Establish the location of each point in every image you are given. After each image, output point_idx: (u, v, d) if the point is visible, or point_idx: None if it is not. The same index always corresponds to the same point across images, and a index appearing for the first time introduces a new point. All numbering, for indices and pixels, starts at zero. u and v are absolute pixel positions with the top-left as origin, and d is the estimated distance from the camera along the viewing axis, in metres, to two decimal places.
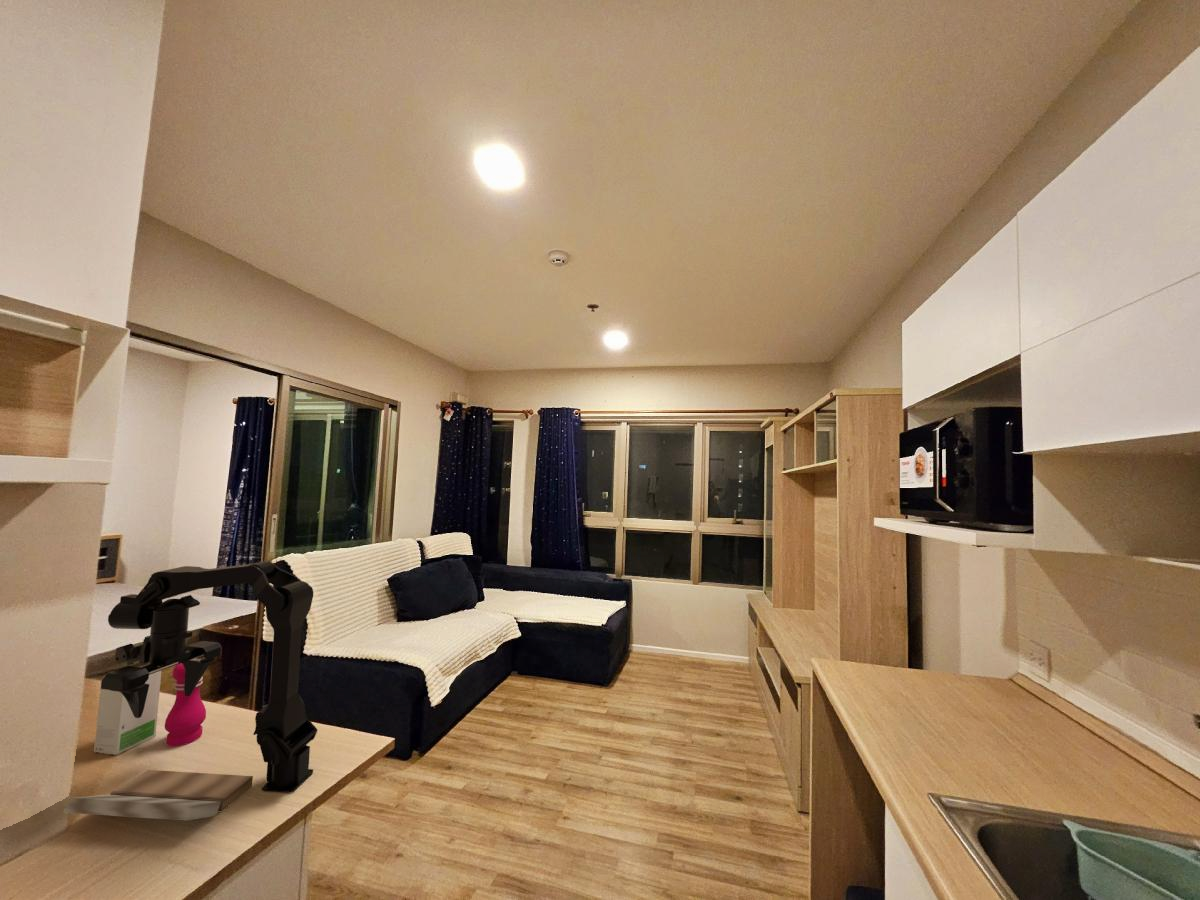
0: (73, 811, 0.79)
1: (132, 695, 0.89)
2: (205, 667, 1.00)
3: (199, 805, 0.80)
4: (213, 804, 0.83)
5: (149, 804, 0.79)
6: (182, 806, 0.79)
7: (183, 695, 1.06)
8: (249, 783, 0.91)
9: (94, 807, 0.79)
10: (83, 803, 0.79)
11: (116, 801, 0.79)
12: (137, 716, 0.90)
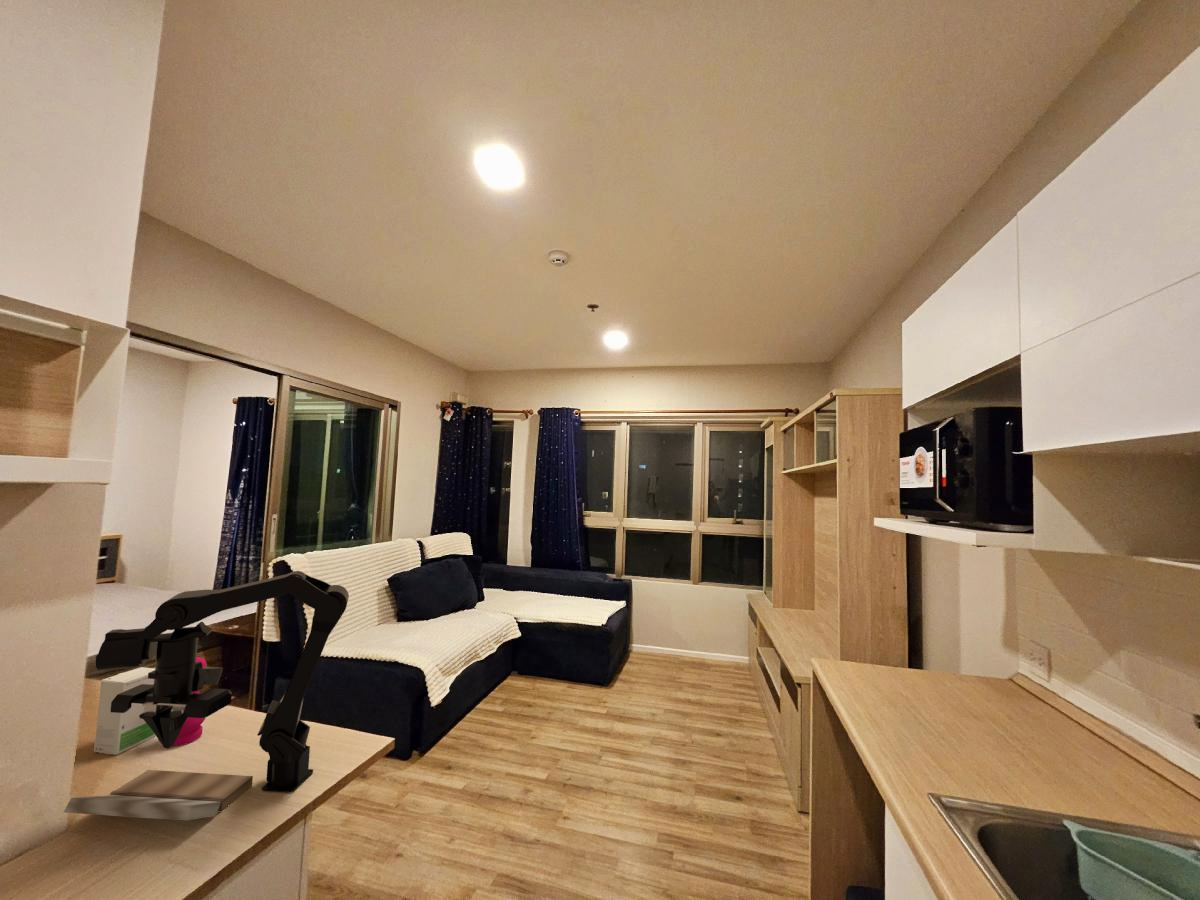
0: (73, 811, 0.79)
1: None
2: (165, 723, 0.83)
3: (199, 805, 0.80)
4: (213, 804, 0.83)
5: (149, 804, 0.79)
6: (182, 806, 0.79)
7: None
8: (249, 783, 0.91)
9: (94, 807, 0.79)
10: (83, 803, 0.79)
11: (116, 801, 0.79)
12: None
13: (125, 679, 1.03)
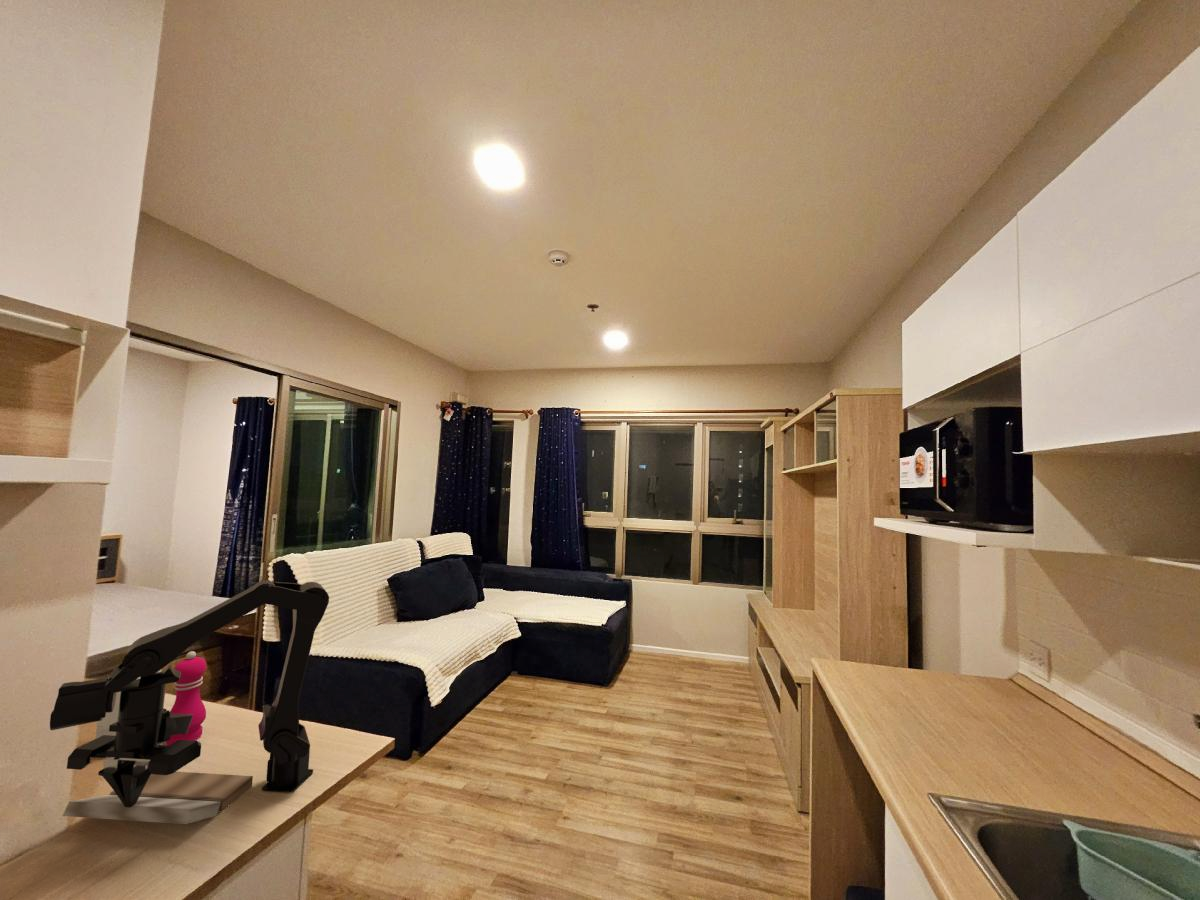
0: (72, 815, 0.78)
1: None
2: (126, 780, 0.77)
3: (198, 808, 0.80)
4: (213, 805, 0.83)
5: (147, 808, 0.79)
6: (181, 810, 0.78)
7: (183, 695, 1.06)
8: (249, 783, 0.91)
9: (93, 810, 0.79)
10: (81, 806, 0.79)
11: (114, 805, 0.79)
12: None
13: None
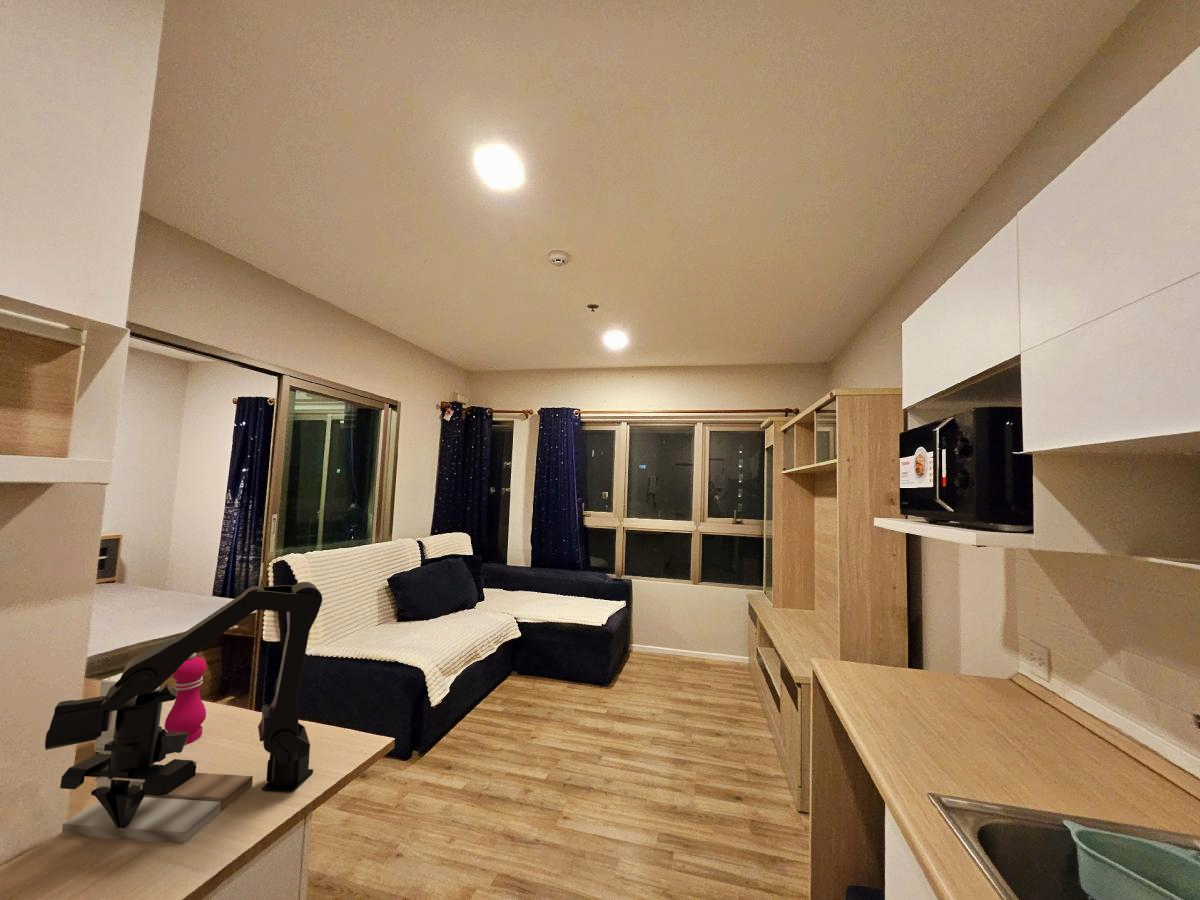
0: (71, 835, 0.78)
1: None
2: (121, 801, 0.76)
3: (194, 824, 0.79)
4: (212, 810, 0.83)
5: (142, 830, 0.78)
6: (176, 832, 0.78)
7: (183, 695, 1.06)
8: (249, 783, 0.91)
9: (89, 832, 0.78)
10: (77, 828, 0.78)
11: (109, 827, 0.78)
12: None
13: None
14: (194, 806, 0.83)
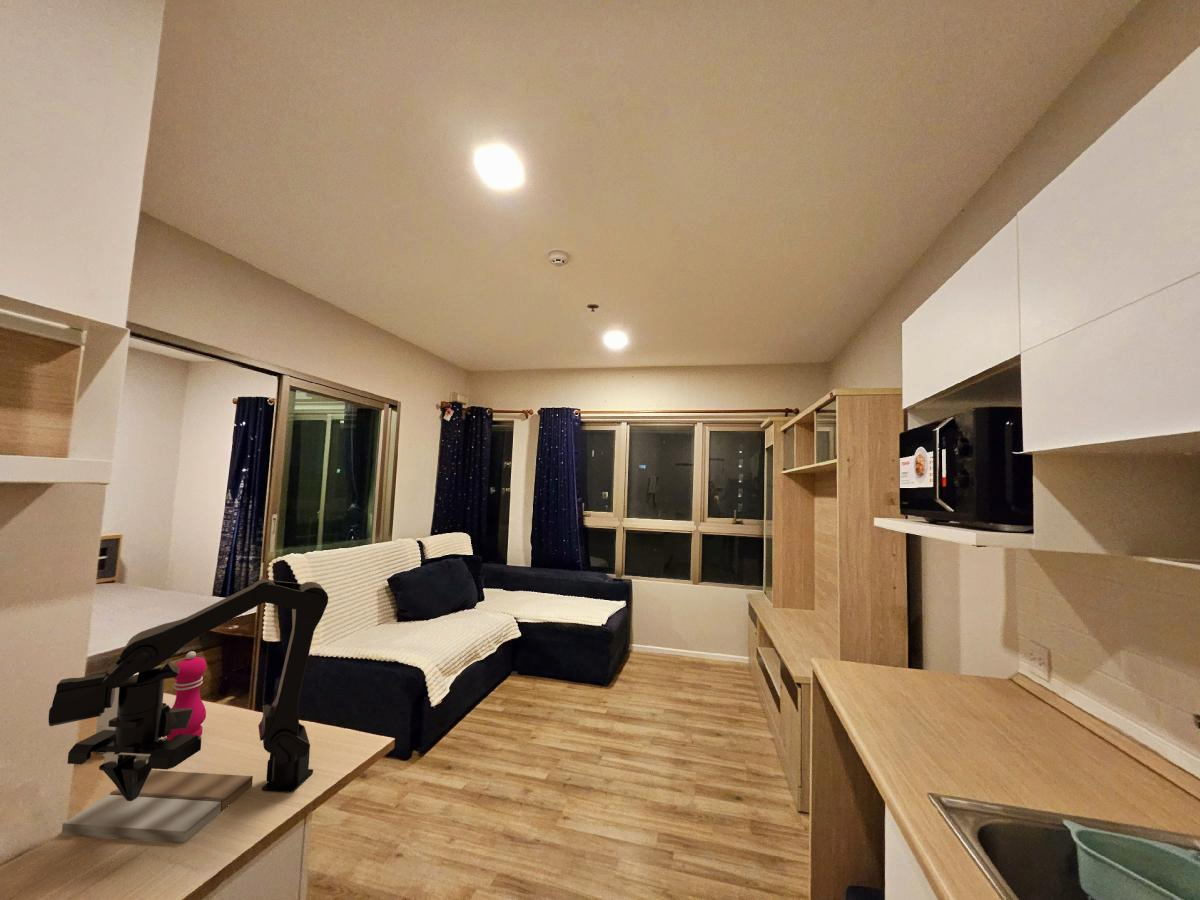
0: (71, 834, 0.78)
1: None
2: (127, 774, 0.77)
3: (194, 824, 0.79)
4: (212, 810, 0.83)
5: (142, 830, 0.78)
6: (176, 832, 0.78)
7: (183, 695, 1.06)
8: (249, 783, 0.91)
9: (89, 831, 0.78)
10: (77, 828, 0.78)
11: (109, 826, 0.78)
12: None
13: None
14: (194, 806, 0.83)
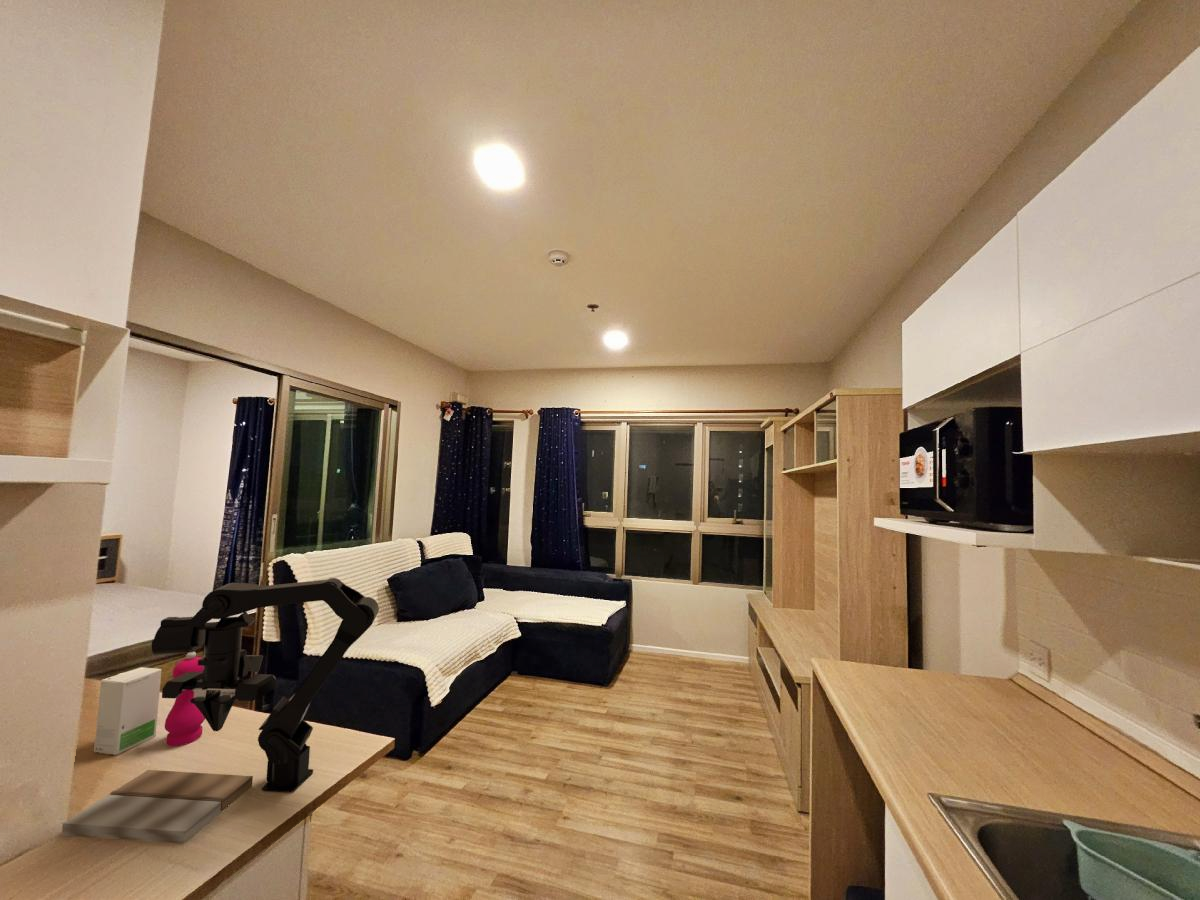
0: (71, 834, 0.78)
1: None
2: (215, 706, 0.88)
3: (194, 824, 0.79)
4: (212, 810, 0.83)
5: (142, 830, 0.78)
6: (176, 832, 0.78)
7: (183, 695, 1.06)
8: (249, 783, 0.91)
9: (89, 831, 0.78)
10: (77, 828, 0.78)
11: (109, 826, 0.78)
12: None
13: (125, 679, 1.03)
14: (194, 806, 0.83)
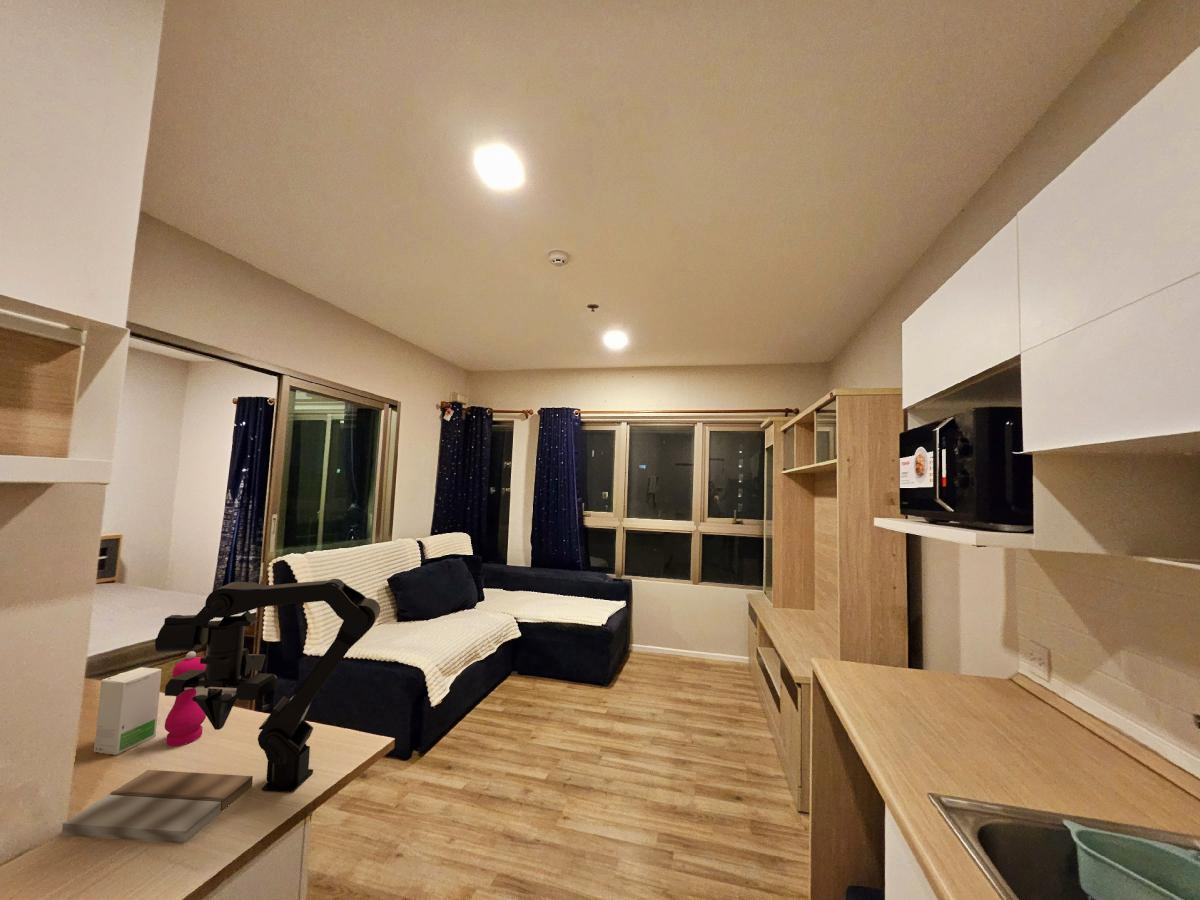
0: (71, 834, 0.78)
1: None
2: (217, 705, 0.88)
3: (194, 824, 0.79)
4: (212, 810, 0.83)
5: (142, 829, 0.78)
6: (176, 832, 0.78)
7: (183, 695, 1.06)
8: (249, 783, 0.91)
9: (89, 831, 0.78)
10: (77, 827, 0.78)
11: (109, 826, 0.78)
12: None
13: (125, 679, 1.03)
14: (194, 806, 0.83)
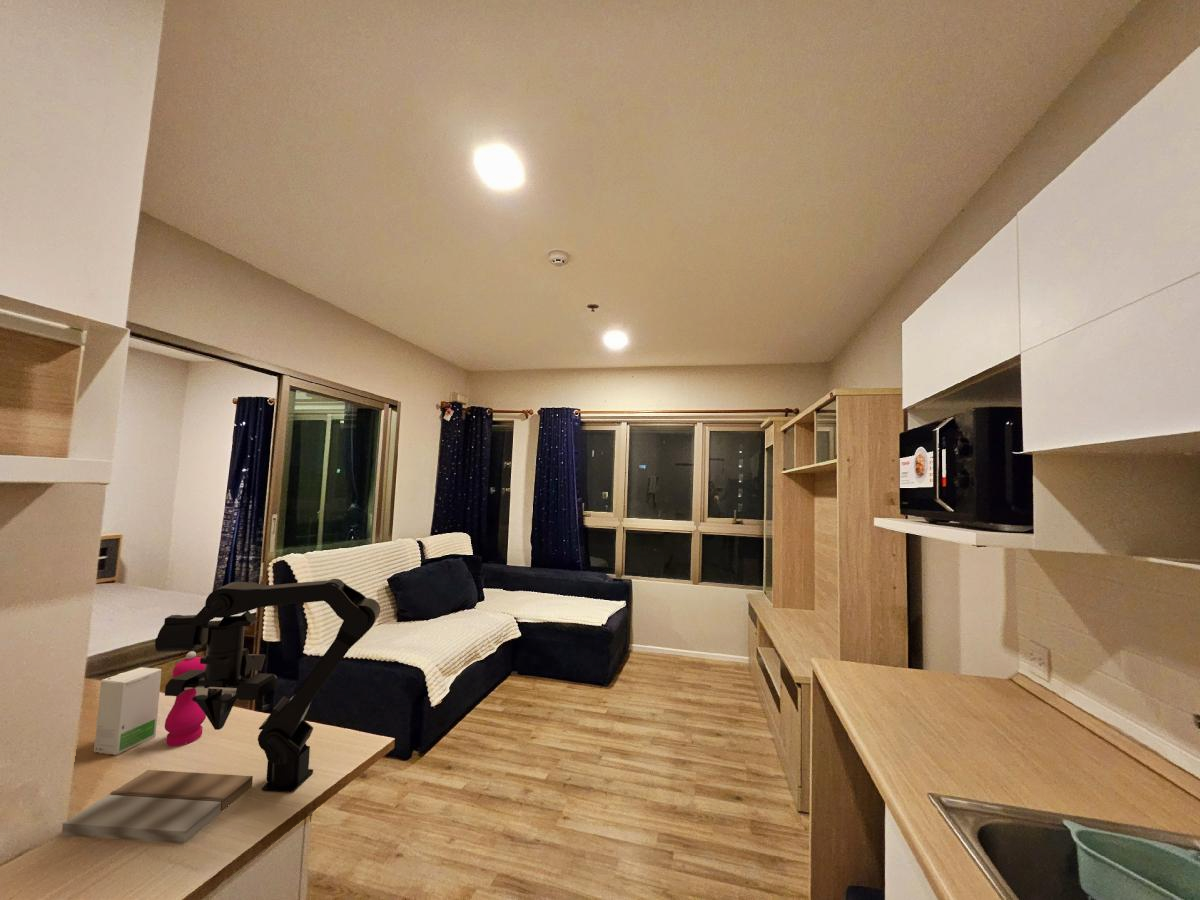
0: (71, 834, 0.78)
1: None
2: (217, 705, 0.88)
3: (194, 824, 0.79)
4: (212, 810, 0.83)
5: (142, 829, 0.78)
6: (176, 832, 0.78)
7: (183, 695, 1.06)
8: (249, 783, 0.91)
9: (89, 831, 0.78)
10: (77, 827, 0.78)
11: (109, 826, 0.78)
12: None
13: (125, 679, 1.03)
14: (194, 806, 0.83)
